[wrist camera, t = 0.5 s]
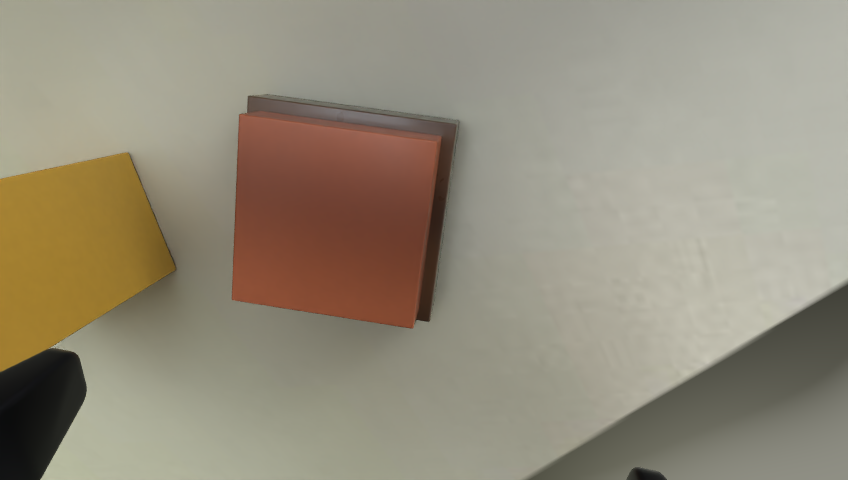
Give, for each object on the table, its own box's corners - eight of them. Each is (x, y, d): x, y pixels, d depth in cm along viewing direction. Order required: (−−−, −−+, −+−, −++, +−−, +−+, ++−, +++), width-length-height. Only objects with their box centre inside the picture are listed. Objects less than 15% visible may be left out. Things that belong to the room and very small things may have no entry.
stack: (433, 304, 26) (424, 343, 22) (256, 276, 27) (218, 310, 23) (459, 120, 24) (454, 128, 20) (265, 94, 25) (225, 97, 21)
